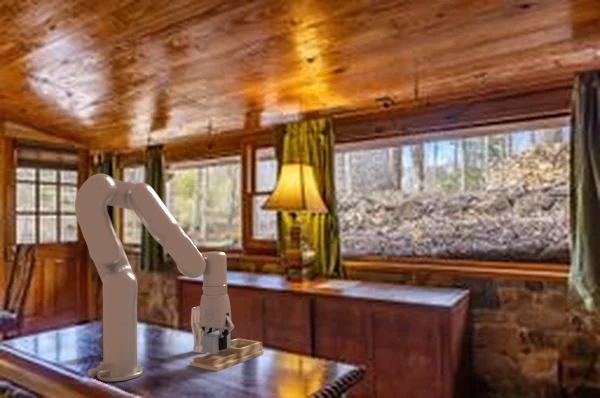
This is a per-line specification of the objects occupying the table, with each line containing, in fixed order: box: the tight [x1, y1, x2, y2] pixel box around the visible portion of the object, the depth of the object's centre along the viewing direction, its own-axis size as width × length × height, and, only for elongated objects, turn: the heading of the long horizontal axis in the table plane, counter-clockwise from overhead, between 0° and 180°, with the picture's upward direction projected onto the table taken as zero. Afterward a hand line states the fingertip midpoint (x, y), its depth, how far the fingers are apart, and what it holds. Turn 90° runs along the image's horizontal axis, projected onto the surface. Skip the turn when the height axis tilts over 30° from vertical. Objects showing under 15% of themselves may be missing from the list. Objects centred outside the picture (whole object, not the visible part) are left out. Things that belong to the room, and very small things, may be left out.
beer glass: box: [190, 305, 207, 355], centre depth 175 cm, size 7×7×15 cm
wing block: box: [202, 330, 232, 354], centre depth 160 cm, size 8×4×5 cm, turn 150°
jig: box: [189, 337, 264, 372], centre depth 164 cm, size 22×12×4 cm, turn 145°
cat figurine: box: [97, 318, 103, 356], centre depth 171 cm, size 8×8×12 cm
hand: (216, 347), depth 159 cm, fingers closed on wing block, 4 cm apart
